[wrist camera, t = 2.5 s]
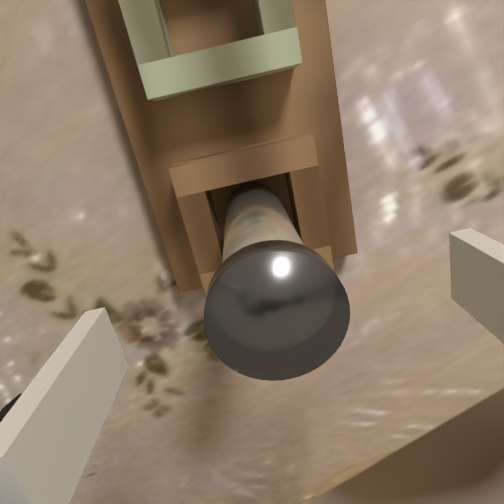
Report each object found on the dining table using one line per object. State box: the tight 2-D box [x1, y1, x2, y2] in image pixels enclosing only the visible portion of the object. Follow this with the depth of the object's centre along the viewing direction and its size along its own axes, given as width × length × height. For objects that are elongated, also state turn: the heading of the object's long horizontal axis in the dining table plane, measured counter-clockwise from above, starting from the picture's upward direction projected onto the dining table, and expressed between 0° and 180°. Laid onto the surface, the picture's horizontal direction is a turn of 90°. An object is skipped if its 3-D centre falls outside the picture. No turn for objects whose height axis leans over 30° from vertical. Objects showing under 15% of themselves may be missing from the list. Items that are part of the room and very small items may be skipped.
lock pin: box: [204, 183, 350, 381], centre depth 20 cm, size 5×5×15 cm
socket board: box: [85, 0, 357, 296], centre depth 24 cm, size 14×24×5 cm, turn 12°
